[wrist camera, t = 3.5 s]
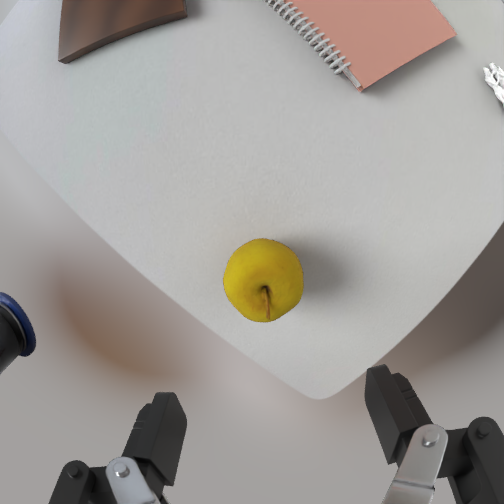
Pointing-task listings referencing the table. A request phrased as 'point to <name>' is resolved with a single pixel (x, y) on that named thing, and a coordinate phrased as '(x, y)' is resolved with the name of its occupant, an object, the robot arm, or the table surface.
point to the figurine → (503, 78)
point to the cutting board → (109, 22)
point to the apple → (263, 280)
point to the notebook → (367, 33)
